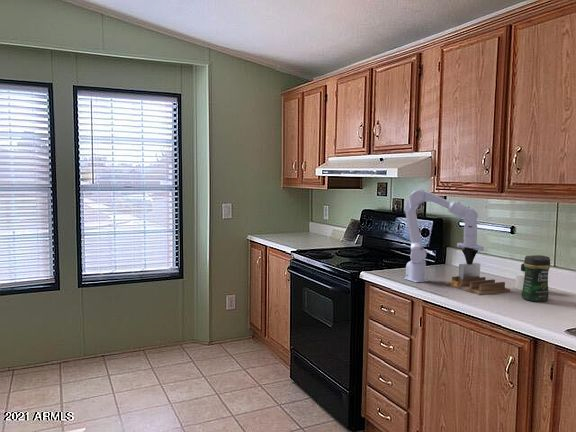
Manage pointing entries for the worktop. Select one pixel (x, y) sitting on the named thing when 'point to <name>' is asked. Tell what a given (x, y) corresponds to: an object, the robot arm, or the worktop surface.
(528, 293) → the coffee jar
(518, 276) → the medicine bottle
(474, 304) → the worktop surface
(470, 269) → the grey brushed metal block
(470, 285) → the slot rack
